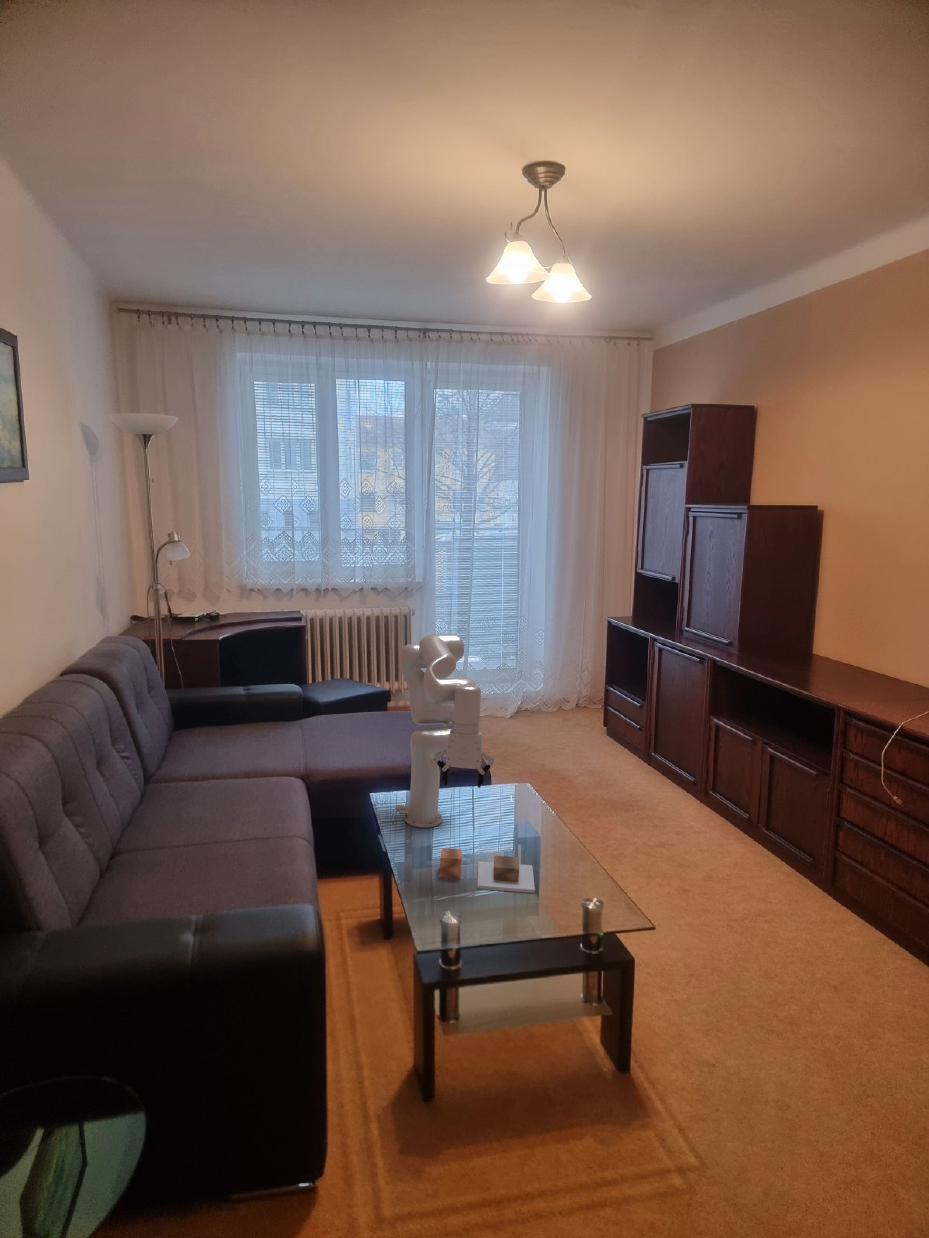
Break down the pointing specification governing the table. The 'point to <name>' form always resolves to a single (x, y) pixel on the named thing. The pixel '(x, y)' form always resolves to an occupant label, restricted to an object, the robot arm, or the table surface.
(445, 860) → the terracotta cube
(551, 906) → the table surface
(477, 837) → the table surface
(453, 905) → the table surface
